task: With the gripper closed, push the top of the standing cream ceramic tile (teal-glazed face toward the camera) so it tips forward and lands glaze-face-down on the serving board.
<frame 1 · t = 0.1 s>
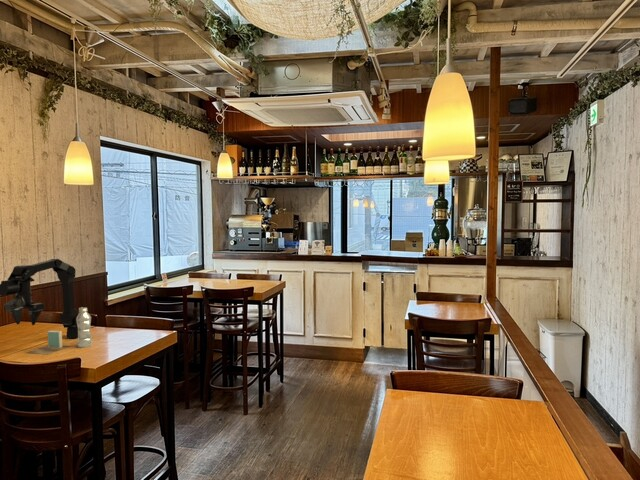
hand: (25, 324, 204), 15 cm above the table, fingers open, 9 cm apart
plastic bottle: (85, 347, 215), on the table
board: (48, 350, 210), on the table
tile: (55, 347, 214), point 1 cm above the table, touching board
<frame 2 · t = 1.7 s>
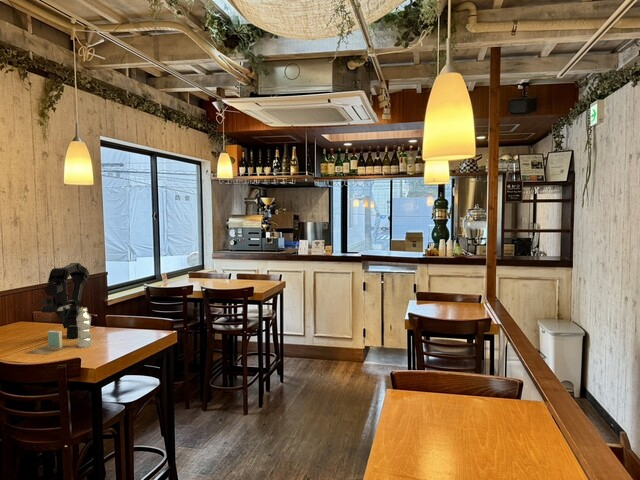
hand: (62, 322, 218), 12 cm above the table, fingers closed
nothing on the table moved.
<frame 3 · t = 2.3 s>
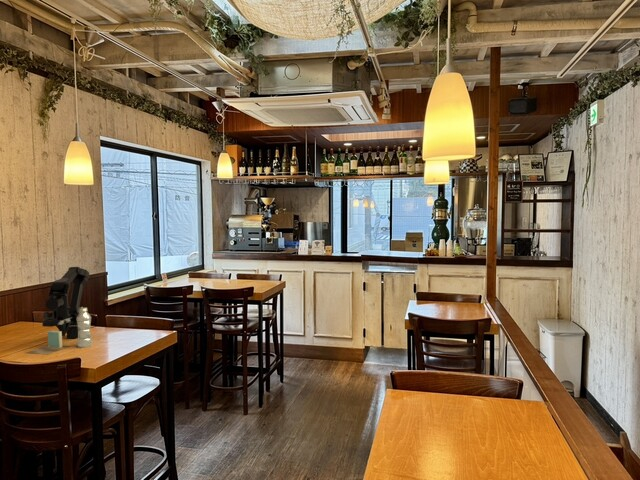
hand: (63, 336, 219), 5 cm above the table, fingers closed
nothing on the table moved.
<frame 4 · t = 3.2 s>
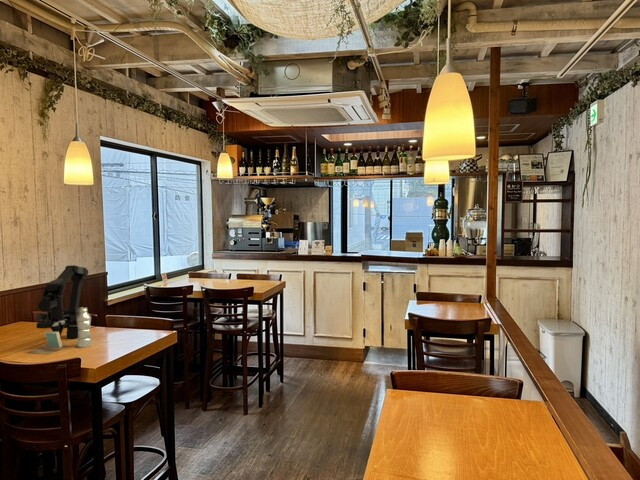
hand: (57, 338, 215), 5 cm above the table, fingers closed
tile: (55, 346, 214), point 1 cm above the table, tilted 11°, touching board
everything else where it was.
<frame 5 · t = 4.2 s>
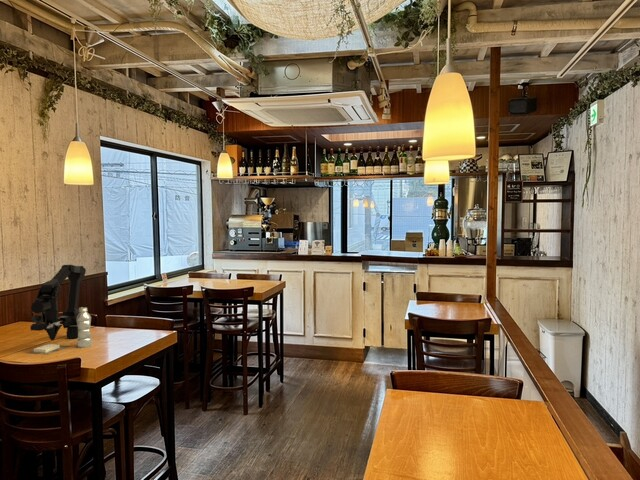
hand: (52, 340, 212), 5 cm above the table, fingers closed
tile: (53, 345, 213), point 1 cm above the table, tilted 90°, touching board
everything else where it was.
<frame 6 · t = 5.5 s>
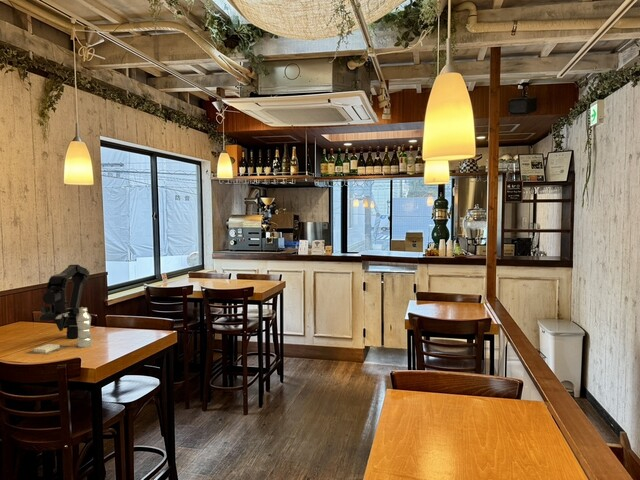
hand: (61, 330, 217), 8 cm above the table, fingers closed
nothing on the table moved.
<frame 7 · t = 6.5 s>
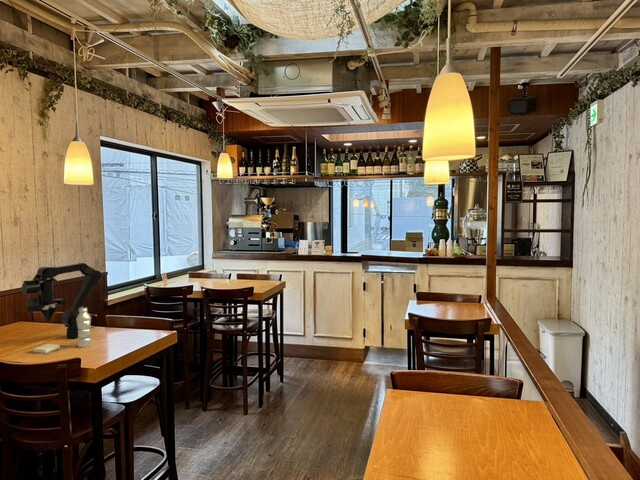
hand: (48, 321, 221), 12 cm above the table, fingers closed
nothing on the table moved.
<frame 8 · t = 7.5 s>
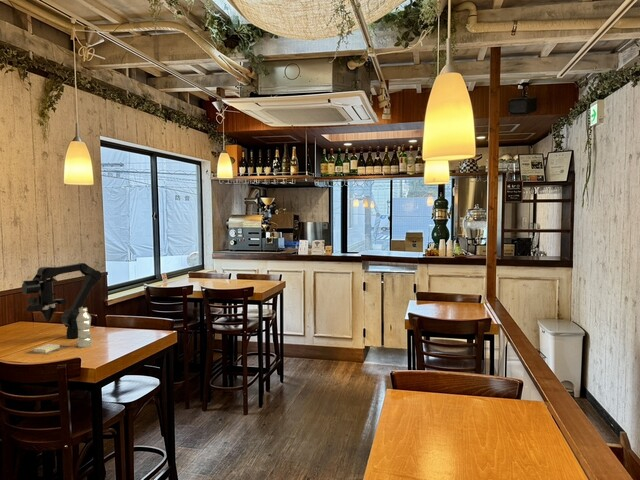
hand: (48, 321, 221), 12 cm above the table, fingers closed
nothing on the table moved.
at the end: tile tilted 90°; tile inside the target area (3.1 cm from its centre), point 1.5 cm above the table; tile touching board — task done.
